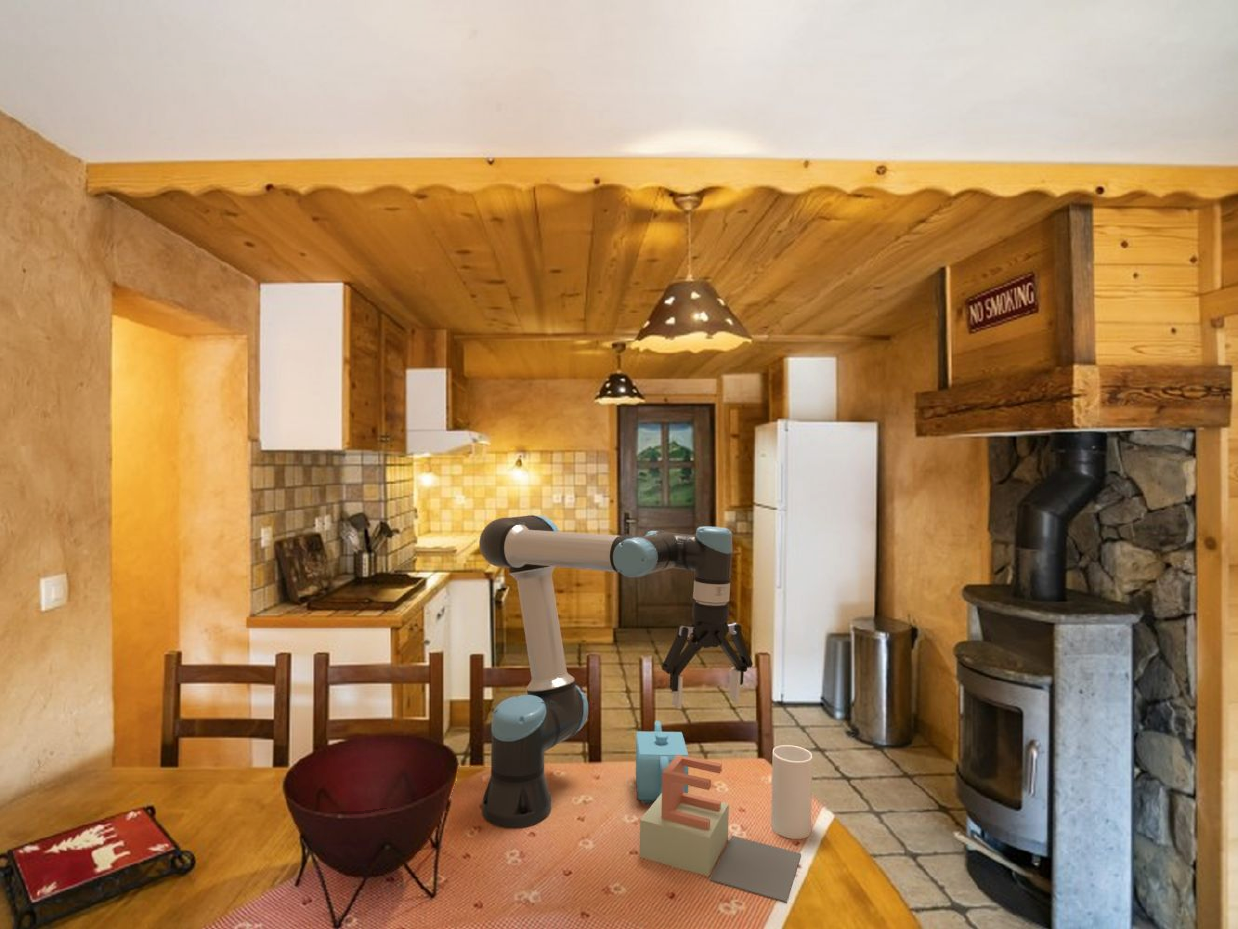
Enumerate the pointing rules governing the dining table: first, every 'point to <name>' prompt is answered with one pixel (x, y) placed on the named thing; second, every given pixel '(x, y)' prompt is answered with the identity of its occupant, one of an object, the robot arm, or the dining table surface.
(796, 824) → the cup
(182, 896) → the dining table surface
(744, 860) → the mat
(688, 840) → the step block
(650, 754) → the teapot
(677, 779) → the stool
